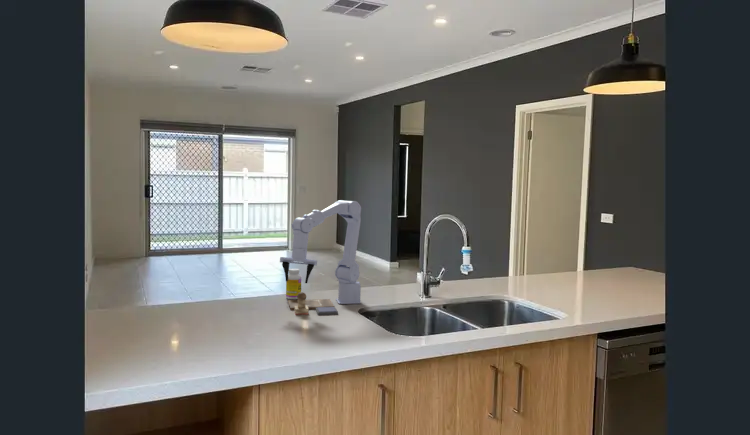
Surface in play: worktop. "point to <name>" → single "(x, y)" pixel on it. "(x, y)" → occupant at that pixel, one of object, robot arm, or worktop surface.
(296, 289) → the supplement bottle
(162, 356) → the worktop surface
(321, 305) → the board
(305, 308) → the stamp
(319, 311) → the ink pad
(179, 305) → the worktop surface
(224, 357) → the worktop surface
